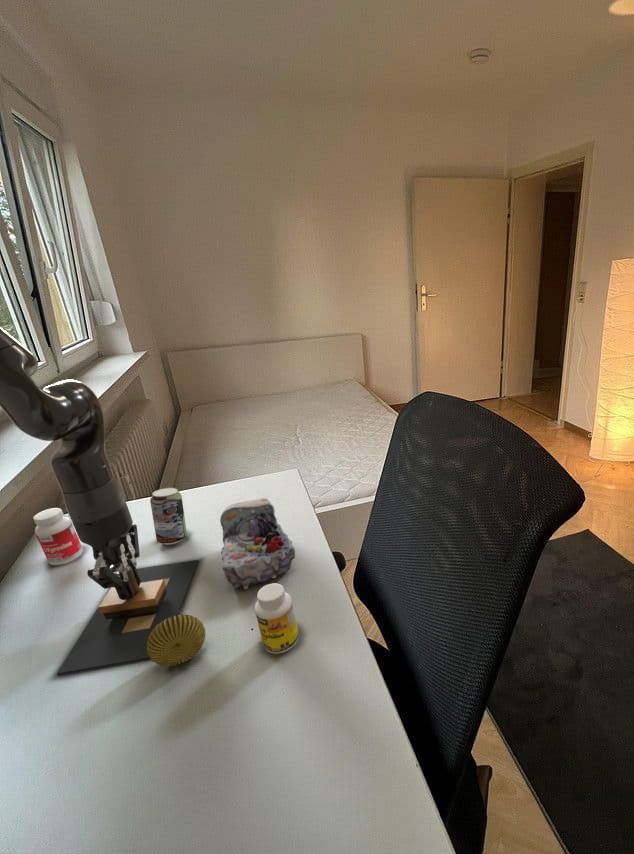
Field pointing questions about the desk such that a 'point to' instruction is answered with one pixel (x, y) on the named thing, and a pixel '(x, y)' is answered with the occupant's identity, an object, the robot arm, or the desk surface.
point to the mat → (129, 624)
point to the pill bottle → (57, 536)
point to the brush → (134, 598)
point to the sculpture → (175, 640)
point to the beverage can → (168, 516)
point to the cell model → (253, 544)
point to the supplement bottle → (276, 618)
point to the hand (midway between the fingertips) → (131, 591)
